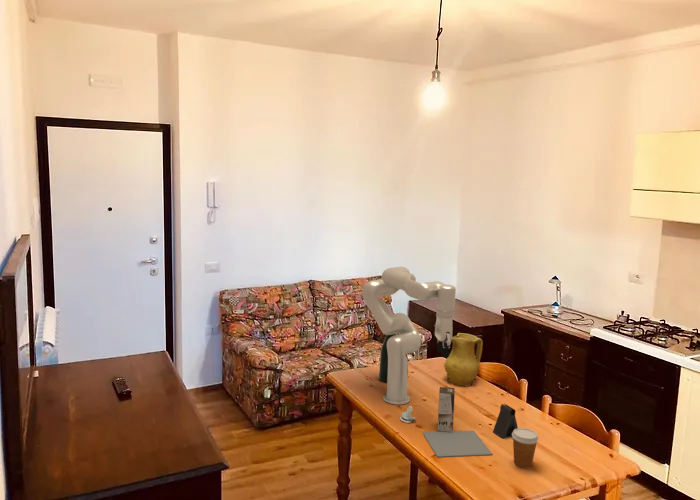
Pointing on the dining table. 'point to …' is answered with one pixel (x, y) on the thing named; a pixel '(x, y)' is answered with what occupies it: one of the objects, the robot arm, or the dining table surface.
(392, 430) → the dining table surface
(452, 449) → the mat
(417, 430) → the dining table surface
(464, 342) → the pitcher
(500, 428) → the phone stand
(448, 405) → the coffee box
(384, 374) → the dark green bottle
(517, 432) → the disposable coffee cup
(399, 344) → the robot arm
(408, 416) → the pacifier
